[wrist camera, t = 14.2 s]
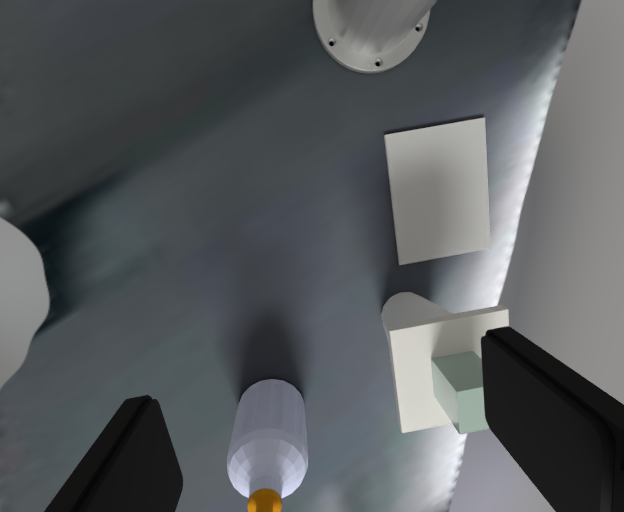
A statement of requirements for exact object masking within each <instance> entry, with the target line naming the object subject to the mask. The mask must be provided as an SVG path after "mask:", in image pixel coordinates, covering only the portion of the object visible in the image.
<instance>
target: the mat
mask: <svg viewBox="0 0 624 512" xmlns="http://www.w3.org/2000/svg"><path fill="white" fill-rule="evenodd" d="M384 139H385V148H386V157H387V165H388V174H389V183H390V192H391V201H392V209H393V218H394V227H395V236H396V245H397V253H398V262H399V265H404V264H409V263H415V262H420V261H425V260H431V259H436V258H442V257H447V256H452V255H458V254H463V253H469V252H474V251H479V250H485V249H490V248H491V242H490V220H489V198H488V176H487V153H486V131H485V118H479V119H473V120H468V121H462V122H456V123H450V124H445V125H439V126H433V127H428V128H422V129H416V130H410V131H405V132H399V133H393V134H388V135H384Z"/></svg>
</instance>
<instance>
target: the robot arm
mask: <svg viewBox="0 0 624 512" xmlns="http://www.w3.org/2000/svg"><path fill="white" fill-rule="evenodd" d="M436 2H437V0H313V5H312V13H313V20H314V26H315V29H316V32H317V35H318V38H319V40H320V41H321V43H322V45H323V47H324V48H325V50H326V51H327V52H328V53H329V55H330V56H331V57H332V58H333V59H334V60H336V61H337V62H338V63H339V64H340V65H342V66H344V67H346V68H348V69H350V70H353V71H356V72H359V73H369V74H371V73H379V72H383V71H386V70H389V69H391V68H393V67H395V66H396V65H398V64H400V63H401V62H402V61H403V60H405V59H406V58H407V57H408V56H409V55H410V54H411V53H412V52H413V51H414V50H415V48H416V47H417V45H418V44H419V42H420V41H421V39H422V37H423V35H424V33H425V30H426V28H427V24H428V20H429V16H430V9H431V7H432V6H433V5H434V4H435V3H436ZM415 28H417V29H418V32H417V31H416V29H415ZM329 43H333V46H330V45H329ZM375 63H378V64H379V67H377V66H376V65H375ZM481 357H482V375H483V392H484V410H485V418H486V422H487V424H488V426H489V428H490V429H491V431H492V432H493V433H494V434H495V436H496V437H497V438H498V439H499V441H500V442H501V443H502V445H503V446H504V447H505V448H506V450H507V451H508V452H509V453H510V455H511V456H512V457H513V458H514V460H515V461H516V462H517V463H518V465H519V466H520V467H521V468H522V470H523V471H524V472H525V474H526V475H527V476H528V477H529V479H530V480H531V481H532V482H533V484H534V485H535V486H536V487H537V489H538V490H539V491H540V492H541V494H542V495H543V496H544V497H545V499H546V500H547V501H548V502H549V504H550V505H551V506H552V507H553V509H554V510H555V511H556V512H624V405H623V404H622V403H620V402H619V401H617V400H616V399H614V398H613V397H612V396H610V395H609V394H607V393H606V392H604V391H603V390H601V389H600V388H598V387H597V386H596V385H594V384H593V383H591V382H590V381H588V380H587V379H585V378H584V377H582V376H581V375H579V374H578V373H577V372H575V371H574V370H572V369H571V368H569V367H568V366H566V365H565V364H563V363H562V362H561V361H559V360H557V359H556V358H554V357H553V356H552V355H550V354H549V353H547V352H546V351H544V350H543V349H542V348H540V347H538V346H537V345H535V344H534V343H533V342H531V341H530V340H528V339H527V338H525V337H524V336H523V335H521V334H520V333H518V332H517V331H515V330H514V329H512V328H511V327H509V326H506V327H500V328H495V329H490V330H487V331H486V334H485V336H482V337H481ZM182 488H183V476H182V473H181V470H180V466H179V463H178V460H177V457H176V454H175V451H174V448H173V445H172V442H171V439H170V436H169V433H168V429H167V426H166V423H165V420H164V417H163V414H162V411H161V408H160V405H159V402H158V401H157V400H156V399H153V400H152V398H151V397H150V396H149V395H145V396H140V397H135V398H130V399H126V400H125V401H124V402H123V404H122V405H121V406H120V408H119V409H118V410H117V412H116V413H115V415H114V416H113V417H112V419H111V420H110V421H109V423H108V424H107V426H106V427H105V428H104V430H103V431H102V433H101V434H100V435H99V437H98V438H97V439H96V441H95V442H94V444H93V445H92V446H91V448H90V449H89V450H88V452H87V453H86V455H85V456H84V457H83V459H82V460H81V461H80V463H79V464H78V466H77V467H76V468H75V470H74V471H73V473H72V474H71V475H70V477H69V478H68V479H67V481H66V482H65V484H64V485H63V486H62V488H61V489H60V490H59V492H58V493H57V495H56V496H55V497H54V499H53V500H52V502H51V503H50V504H49V506H48V507H47V508H46V510H45V511H44V512H175V510H176V507H177V504H178V501H179V498H180V495H181V492H182Z"/></svg>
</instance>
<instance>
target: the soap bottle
mask: <svg viewBox="0 0 624 512" xmlns="http://www.w3.org/2000/svg"><path fill="white" fill-rule="evenodd" d="M307 468H308V449H307V435H306V421H305V406H304V401H303V398H302V396H301V394H300V392H299V391H298V390H297V389H296V388H295V387H294V386H293V385H291V384H289V383H287V382H285V381H283V380H277V379H268V380H262V381H259V382H257V383H255V384H253V385H251V386H250V387H249V388H248V389H247V390H246V391H245V392H244V393H243V395H242V397H241V399H240V402H239V405H238V409H237V414H236V419H235V423H234V428H233V433H232V437H231V442H230V446H229V451H228V456H227V471H228V475H229V478H230V480H231V482H232V484H233V486H234V488H235V489H236V490H238V491H239V492H240V493H241V494H242V495H243V496H246V497H248V511H249V512H280V510H281V504H282V498H283V497H285V496H287V495H289V494H291V493H292V492H293V491H294V490H295V489H297V488H298V487H299V486H300V484H301V482H302V480H303V478H304V475H305V473H306V470H307Z"/></svg>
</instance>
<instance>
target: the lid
mask: <svg viewBox="0 0 624 512" xmlns="http://www.w3.org/2000/svg"><path fill="white" fill-rule="evenodd" d="M506 326H509V320H508V309H507V308H505V307H503V306H502V305H500V306H495V307H489V308H484V309H479V310H473V311H468V312H462V313H457V314H452V315H446V316H441V317H435V318H430V319H425V320H419V321H414V322H408V323H403V324H398V325H392V326H387V334H388V342H389V351H390V359H391V367H392V375H393V383H394V391H395V399H396V407H397V415H398V423H399V427H400V430H401V432H402V433H406V432H411V431H416V430H421V429H426V428H431V427H437V426H442V425H447V424H453V425H454V427H455V428H456V430H457V431H458V433H459V434H465V433H470V432H475V431H480V430H485V429H490V428H489V426H488V424H487V422H486V418H485V410H484V392H483V375H482V357H481V337H482V336H485V334H486V331H487V330H490V329H495V328H500V327H506Z"/></svg>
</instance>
